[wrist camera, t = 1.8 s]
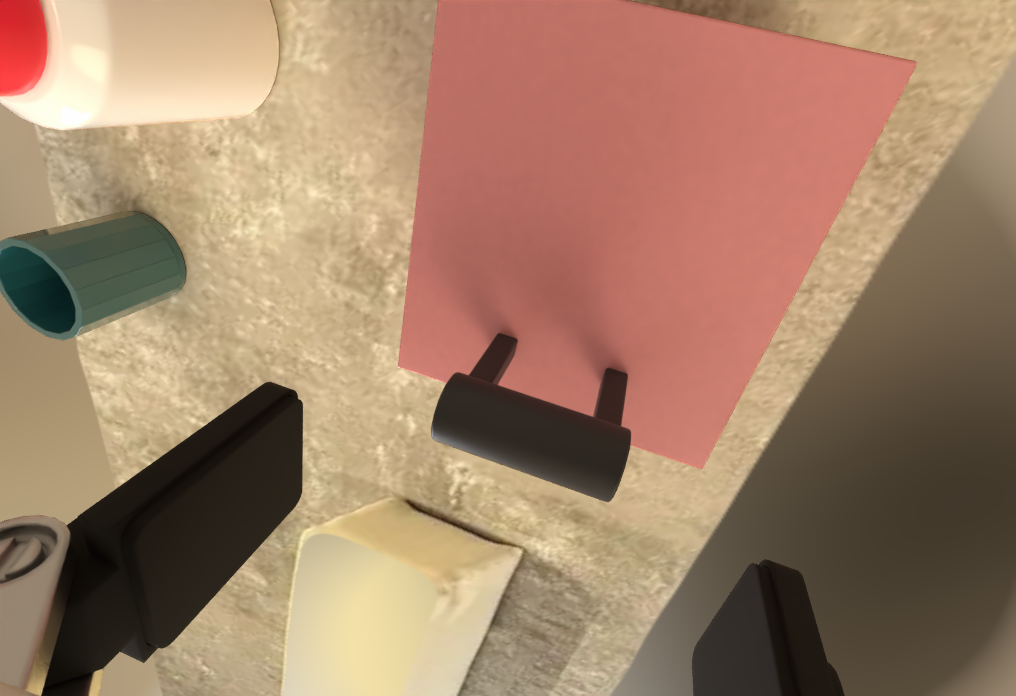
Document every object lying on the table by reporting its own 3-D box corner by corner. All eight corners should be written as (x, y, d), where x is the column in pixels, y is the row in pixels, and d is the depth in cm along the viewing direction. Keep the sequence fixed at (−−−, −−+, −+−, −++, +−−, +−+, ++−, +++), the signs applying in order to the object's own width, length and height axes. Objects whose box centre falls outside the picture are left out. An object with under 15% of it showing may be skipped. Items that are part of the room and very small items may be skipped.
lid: (701, 454, 17) (714, 602, 12) (406, 356, 18) (314, 452, 13) (904, 63, 11) (1086, 43, 6) (453, -33, 13) (321, -108, 8)
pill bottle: (284, 133, 25) (56, 159, 16) (153, 102, 27) (-130, 110, 17) (275, -61, 22) (-31, -178, 12) (123, -87, 23) (-263, -211, 13)
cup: (95, 224, 31) (-28, 253, 26) (153, 200, 29) (32, 226, 24) (144, 304, 33) (39, 347, 28) (201, 287, 31) (100, 330, 26)
